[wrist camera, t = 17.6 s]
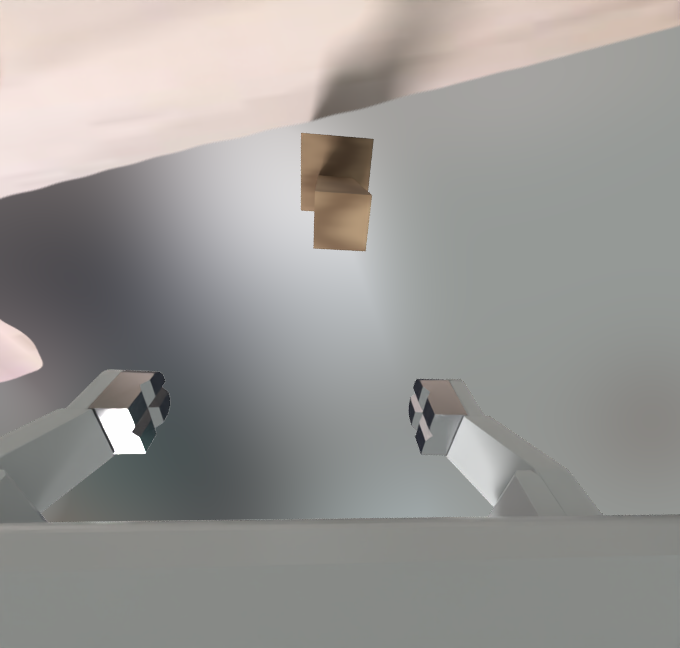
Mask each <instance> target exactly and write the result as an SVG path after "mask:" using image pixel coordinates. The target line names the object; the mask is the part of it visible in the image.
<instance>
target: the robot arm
mask: <svg viewBox="0 0 680 648" xmlns="http://www.w3.org/2000/svg"><path fill="white" fill-rule="evenodd" d="M164 383H165V378H164V376H163V374H162V373H161V372H158V371H138V370H111V369H109V370H106V371H103V372H102V373H101V374H100V375H99V376H98V377H97V378H96V379H95V380H94V381H93V382H92V383H91V384H90V385H89V386H88V387H87V388H86V389H85V390H84V391H83V392H82V393H81V394H80V395H79V396H78V397H77V398H76V399H75V400H74V401H73V402H72V403H71V404H70V405H69V406H68V407H67V408H66V409H58V410H55V411H53V412H51V413H49V414H47V415H45V416H43V417H41V418H39V419H37V420H34V421H32V422H30V423H28V424H26V425H24V426H22V427H20V428H18V429H16V430H14V431H12V432H9V433H7V434H5V435H3V436H1V437H0V648H680V514H668V515H603V514H602V513H601V512H600V510H599V509H598V508H597V507H596V505H595V504H594V503H593V501H592V500H591V499H590V497H589V496H588V495H587V493H586V492H585V491H584V490H583V488H582V487H581V486H580V484H579V483H578V482H577V480H576V479H575V478H574V477H573V475H572V474H571V473H570V471H569V470H568V469H567V468H565V467H564V466H562V465H561V464H559V463H558V462H556V461H555V460H553V459H552V458H550V457H549V456H547V455H546V454H545V453H543V452H542V451H540V450H539V449H537V448H536V447H534V446H533V445H531V444H530V443H528V442H527V441H525V440H524V439H523V438H521V437H519V436H518V435H517V434H515V433H514V432H512V431H511V430H509V429H508V428H506V427H505V426H503V425H502V424H501V423H499V422H498V421H496V420H495V419H493V418H492V417H490V416H485V415H484V413H483V412H482V410H481V408H480V407H479V405H478V404H477V402H476V400H475V399H474V397H473V396H472V394H471V392H470V391H469V389H468V388H467V386H466V384H465V383H464V381H462V380H461V379H446V380H444V379H416V381H415V383H414V386H413V389H414V392H415V394H414V395H413V396H412V397H410V401H409V410H408V411H409V419H410V423H411V425H412V427H413V428H415V429H416V430H417V432H416V435H415V438H416V441H417V444H418V447H419V450H420V454H421V455H442V456H443V455H444V456H447V458H448V459H449V460H450V461H451V462H452V463H453V464H454V465H455V466H456V467H457V468H458V470H459V471H460V472H461V473H462V474H463V475H464V476H465V477H466V478H467V479H468V480H469V481H470V482H471V483H472V484H473V485H474V486H475V488H476V489H477V490H478V491H479V492H480V493H481V494H482V495H483V496H484V497H485V498H486V499H487V500H488V501H489V502H490V504H491V505H492V506H493V507H494V508H493V509H492V511H491V512H490V514H489V516H488V517H430V518H357V519H356V518H353V519H352V518H351V519H275V520H274V519H273V520H203V521H202V520H197V521H121V522H119V521H117V522H116V521H115V522H47V520H46V519H45V518H44V517H43V516H42V514H41V512H43V511H44V510H45V509H47V508H48V507H49V506H50V505H52V504H53V503H54V502H55V501H56V500H58V499H59V498H61V497H62V496H63V495H64V494H66V493H67V492H68V491H70V490H71V489H72V488H73V487H75V486H76V485H77V484H78V483H80V482H81V481H82V480H83V479H85V478H86V477H87V476H89V475H90V474H91V473H92V472H94V471H95V470H96V469H98V468H99V467H100V466H101V465H103V464H104V463H105V462H106V461H108V460H109V459H110V458H112V457H113V456H114V454H128V453H146V451H147V449H148V448H149V446H150V445H151V443H152V441H153V439H154V438H155V436H156V434H157V433H156V430H155V427H157V426H159V425H160V424H161V423H163V422H164V421H165V419H166V417H167V415H168V412H169V408H170V395H169V392H168V391H167V390H165V389H164V388H163V387H162V386H163V385H164Z"/></svg>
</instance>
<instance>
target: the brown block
mask: <svg viewBox="0 0 680 648" xmlns="http://www.w3.org/2000/svg"><path fill="white" fill-rule="evenodd" d="M372 149H373V139H367V138H356V137H344V136H332V135H320V134H308V133H301V210H302V211H303V210H304V211H314V212H315V213H314V248H315V249H334V250H352V251H366V242H367V234H368V225H369V224H368V223H369V216H370V207H371V198H372V195H371V194H370V193H369V192H368V186H369V177H370V168H371V158H372Z"/></svg>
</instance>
